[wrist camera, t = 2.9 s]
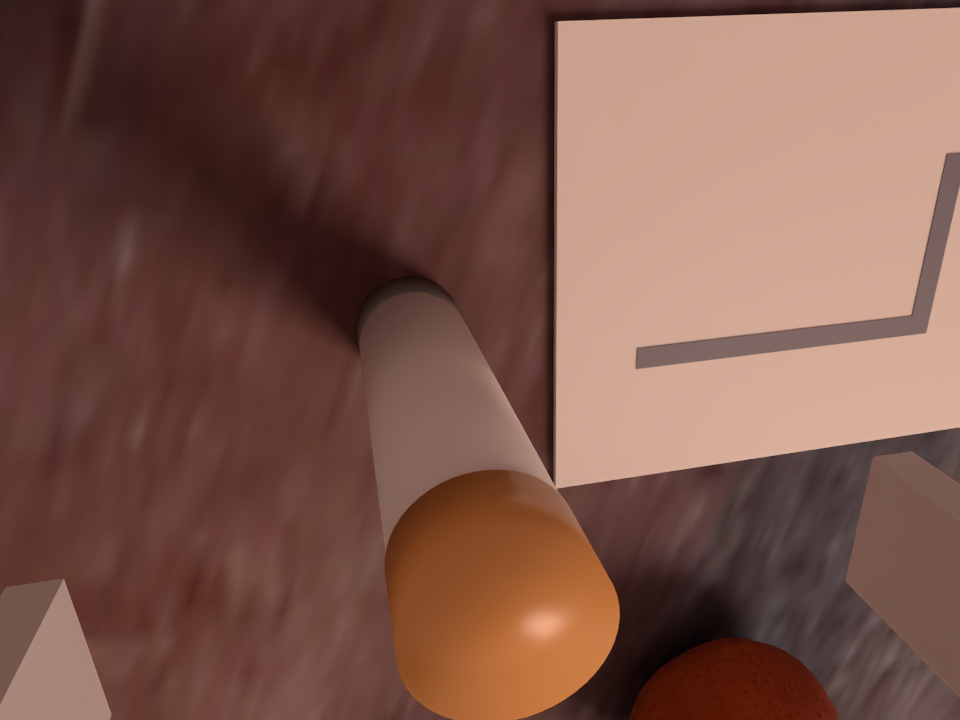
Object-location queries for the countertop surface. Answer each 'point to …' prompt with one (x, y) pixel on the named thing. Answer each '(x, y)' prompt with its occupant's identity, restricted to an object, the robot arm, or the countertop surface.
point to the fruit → (733, 686)
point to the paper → (753, 236)
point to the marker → (472, 524)
